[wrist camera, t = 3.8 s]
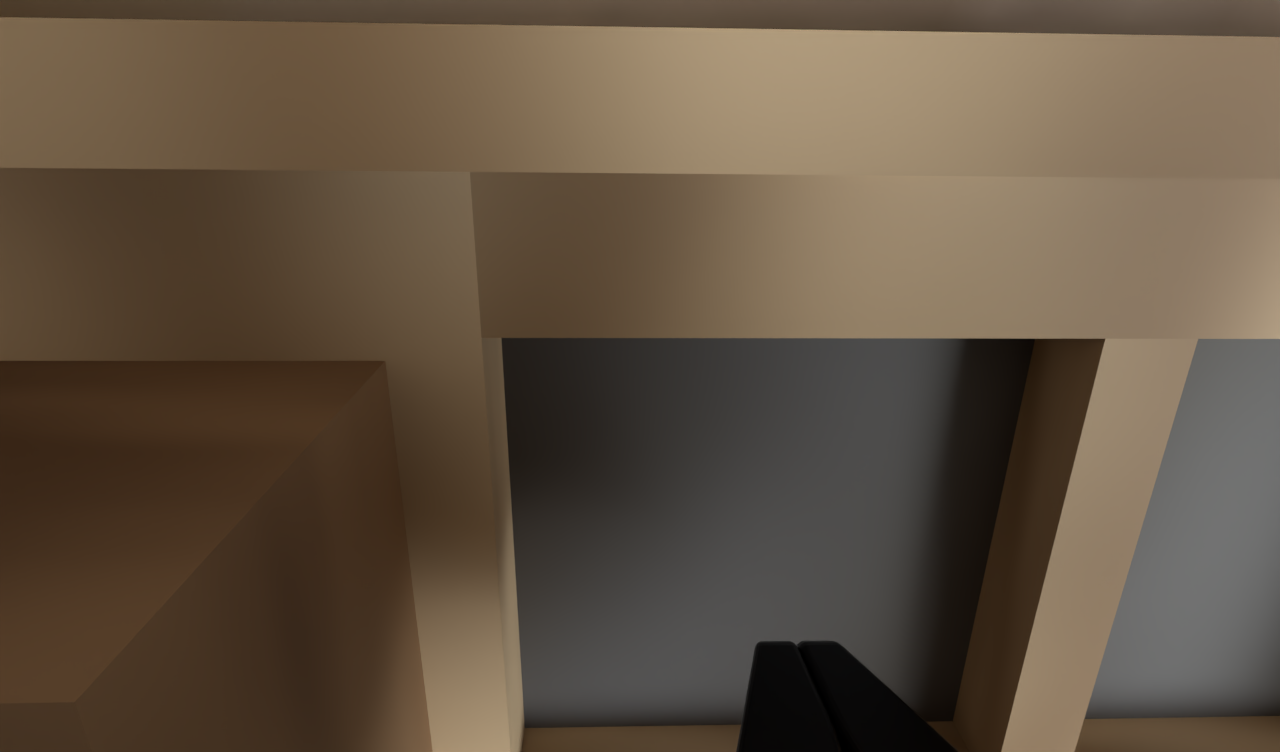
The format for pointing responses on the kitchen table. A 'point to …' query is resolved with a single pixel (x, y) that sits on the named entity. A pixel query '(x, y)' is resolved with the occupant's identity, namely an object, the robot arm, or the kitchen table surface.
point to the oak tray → (724, 346)
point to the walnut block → (204, 560)
